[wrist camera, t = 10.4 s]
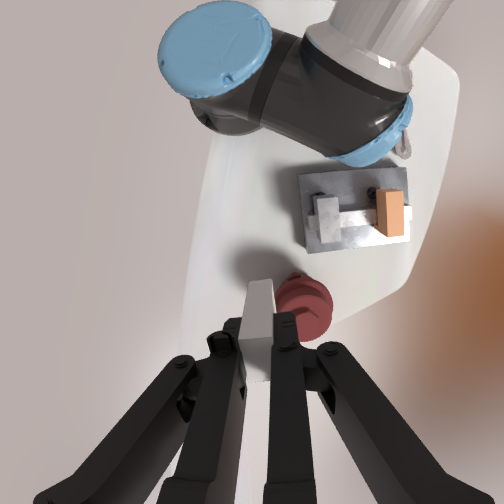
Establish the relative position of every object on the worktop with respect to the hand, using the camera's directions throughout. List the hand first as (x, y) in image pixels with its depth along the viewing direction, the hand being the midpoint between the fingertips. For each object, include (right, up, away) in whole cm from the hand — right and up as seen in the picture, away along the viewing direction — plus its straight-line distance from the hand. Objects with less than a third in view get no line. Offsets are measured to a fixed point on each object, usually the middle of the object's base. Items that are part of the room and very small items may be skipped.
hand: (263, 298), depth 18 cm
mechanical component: (+8, -4, +33) cm, 34 cm away
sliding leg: (+21, +10, +24) cm, 33 cm away
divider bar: (+17, +10, +25) cm, 31 cm away
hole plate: (+17, +11, +27) cm, 34 cm away
